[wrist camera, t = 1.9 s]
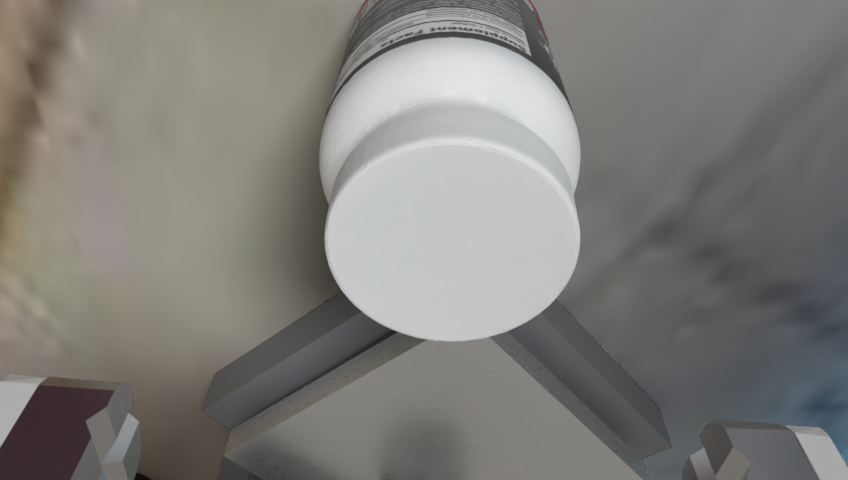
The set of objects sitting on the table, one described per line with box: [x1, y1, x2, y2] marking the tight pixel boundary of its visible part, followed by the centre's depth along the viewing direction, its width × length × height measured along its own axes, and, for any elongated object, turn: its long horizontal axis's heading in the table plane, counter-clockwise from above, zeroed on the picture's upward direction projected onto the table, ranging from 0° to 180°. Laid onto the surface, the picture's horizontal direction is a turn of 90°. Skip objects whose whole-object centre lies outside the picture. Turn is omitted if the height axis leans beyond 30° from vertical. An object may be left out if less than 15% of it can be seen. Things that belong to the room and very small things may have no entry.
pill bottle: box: [319, 0, 581, 342], centre depth 16 cm, size 6×6×10 cm
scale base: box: [202, 292, 672, 480], centre depth 27 cm, size 17×14×7 cm
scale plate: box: [223, 331, 649, 480], centre depth 27 cm, size 12×12×1 cm
